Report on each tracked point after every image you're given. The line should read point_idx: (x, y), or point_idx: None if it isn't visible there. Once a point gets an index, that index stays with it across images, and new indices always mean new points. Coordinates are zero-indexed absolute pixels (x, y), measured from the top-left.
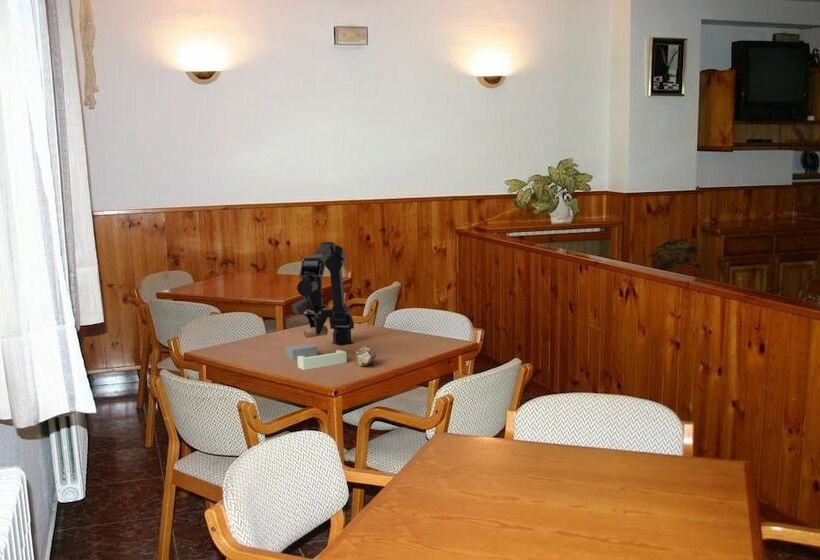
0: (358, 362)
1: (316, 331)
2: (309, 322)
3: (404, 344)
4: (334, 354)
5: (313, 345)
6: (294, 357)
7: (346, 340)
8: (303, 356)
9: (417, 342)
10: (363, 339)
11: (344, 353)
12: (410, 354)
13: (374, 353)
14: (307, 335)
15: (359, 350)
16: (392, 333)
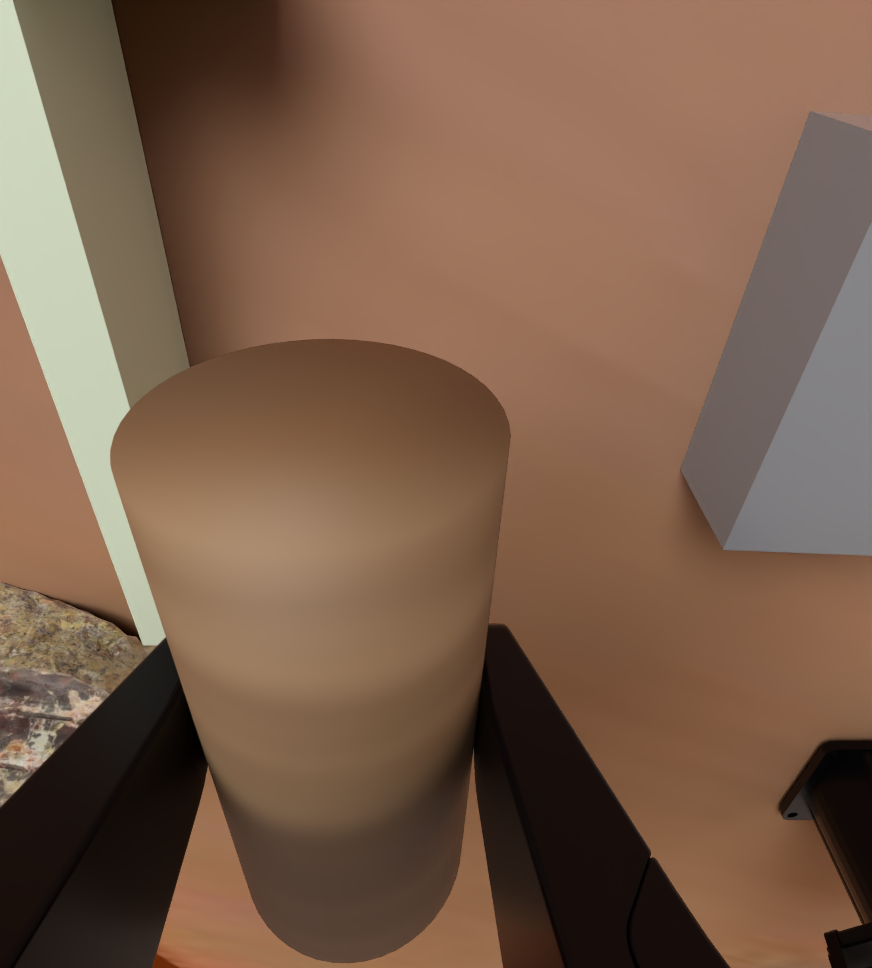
0: (4, 607)
1: (148, 688)
2: (604, 942)
3: (483, 926)
4: (101, 516)
5: (819, 543)
6: (813, 148)
7: (818, 810)
8: (754, 304)
9: (474, 960)
10: (806, 867)
11: (142, 618)
12: (218, 879)
13: None
14: (204, 385)
15: (49, 738)
16: (762, 962)
